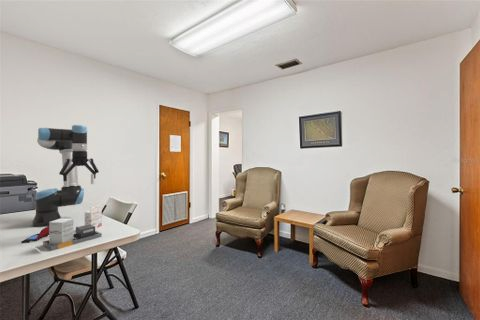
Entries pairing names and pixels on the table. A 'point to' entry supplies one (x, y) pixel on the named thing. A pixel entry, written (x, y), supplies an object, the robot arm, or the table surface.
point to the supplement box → (60, 231)
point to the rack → (69, 243)
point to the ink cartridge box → (94, 217)
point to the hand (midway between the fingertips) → (80, 185)
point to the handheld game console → (37, 236)
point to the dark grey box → (85, 231)
